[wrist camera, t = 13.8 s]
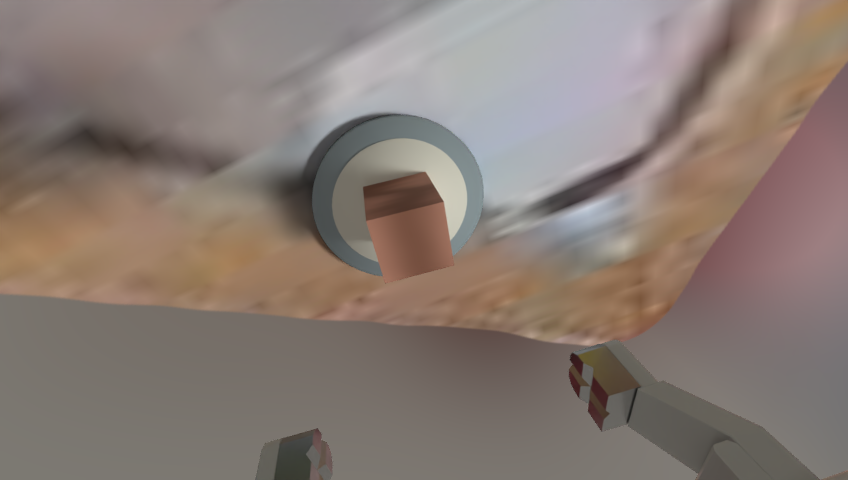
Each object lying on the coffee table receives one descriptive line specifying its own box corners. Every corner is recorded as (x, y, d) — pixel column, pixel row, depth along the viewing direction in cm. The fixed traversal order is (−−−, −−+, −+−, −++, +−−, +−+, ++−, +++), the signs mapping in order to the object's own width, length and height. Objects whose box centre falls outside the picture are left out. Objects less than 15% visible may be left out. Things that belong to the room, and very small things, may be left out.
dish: (343, 286, 32) (343, 294, 31) (285, 138, 24) (282, 142, 23) (486, 249, 33) (490, 256, 32) (470, 96, 25) (475, 98, 24)
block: (378, 241, 29) (385, 283, 23) (362, 186, 26) (366, 221, 21) (435, 226, 29) (454, 265, 24) (425, 171, 26) (443, 201, 21)
